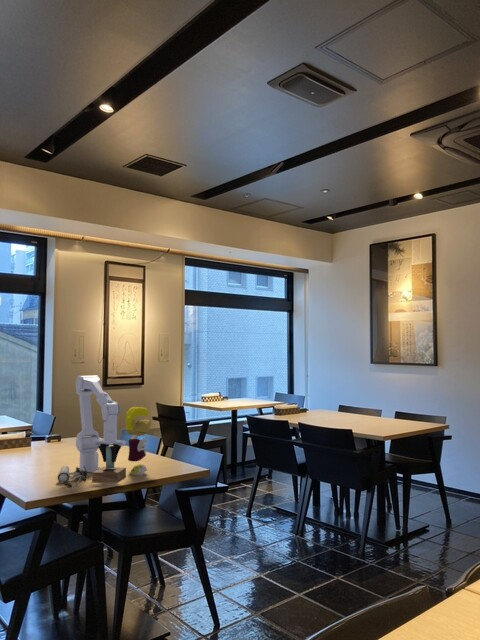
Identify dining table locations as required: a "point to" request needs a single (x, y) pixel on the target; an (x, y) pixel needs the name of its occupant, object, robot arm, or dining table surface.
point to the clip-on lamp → (65, 474)
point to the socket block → (109, 474)
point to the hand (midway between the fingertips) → (109, 461)
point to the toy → (136, 429)
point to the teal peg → (109, 458)
